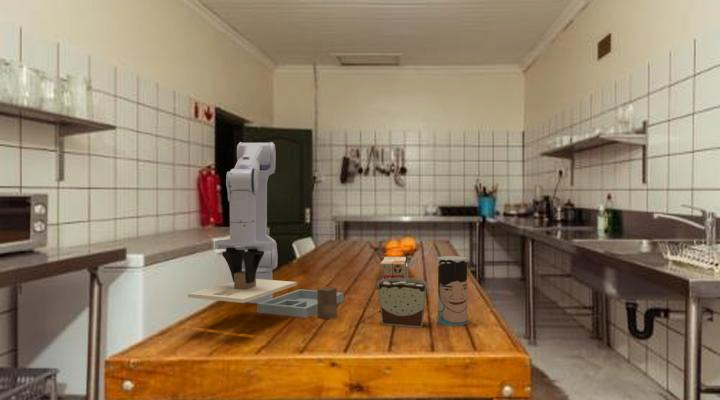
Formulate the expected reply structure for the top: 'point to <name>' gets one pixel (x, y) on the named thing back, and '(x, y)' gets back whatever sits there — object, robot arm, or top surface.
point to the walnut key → (327, 302)
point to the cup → (452, 290)
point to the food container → (402, 301)
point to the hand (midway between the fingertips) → (243, 282)
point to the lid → (242, 289)
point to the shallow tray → (294, 304)
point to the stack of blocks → (394, 268)
